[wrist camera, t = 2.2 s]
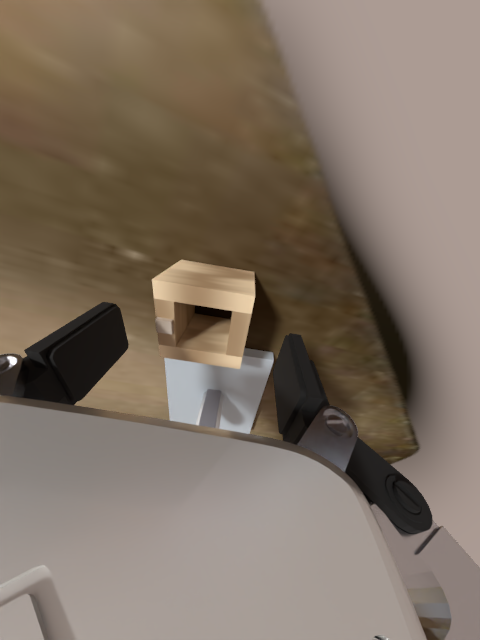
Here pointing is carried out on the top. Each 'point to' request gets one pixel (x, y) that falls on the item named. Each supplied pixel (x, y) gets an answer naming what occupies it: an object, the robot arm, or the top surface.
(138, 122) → the top surface
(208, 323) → the wooden hollow box
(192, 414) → the shaft block
